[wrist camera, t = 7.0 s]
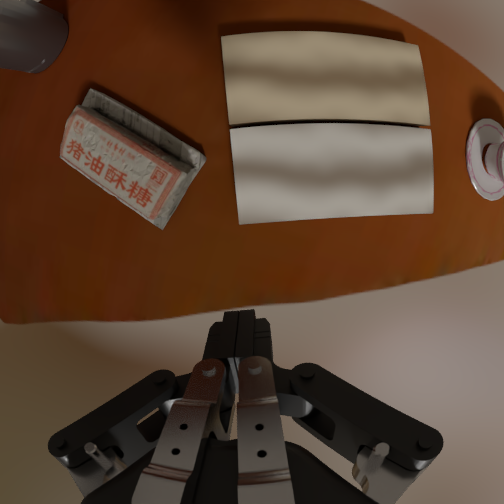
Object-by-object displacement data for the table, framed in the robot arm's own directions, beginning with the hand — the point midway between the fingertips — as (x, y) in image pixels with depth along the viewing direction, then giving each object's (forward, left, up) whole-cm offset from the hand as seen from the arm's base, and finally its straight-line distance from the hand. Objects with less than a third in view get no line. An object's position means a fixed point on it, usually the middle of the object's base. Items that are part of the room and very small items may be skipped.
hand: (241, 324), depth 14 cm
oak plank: (-16, +10, -19) cm, 27 cm away
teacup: (-8, +35, -19) cm, 40 cm away
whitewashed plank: (-6, +10, -18) cm, 21 cm away
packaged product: (-10, -14, -19) cm, 26 cm away
